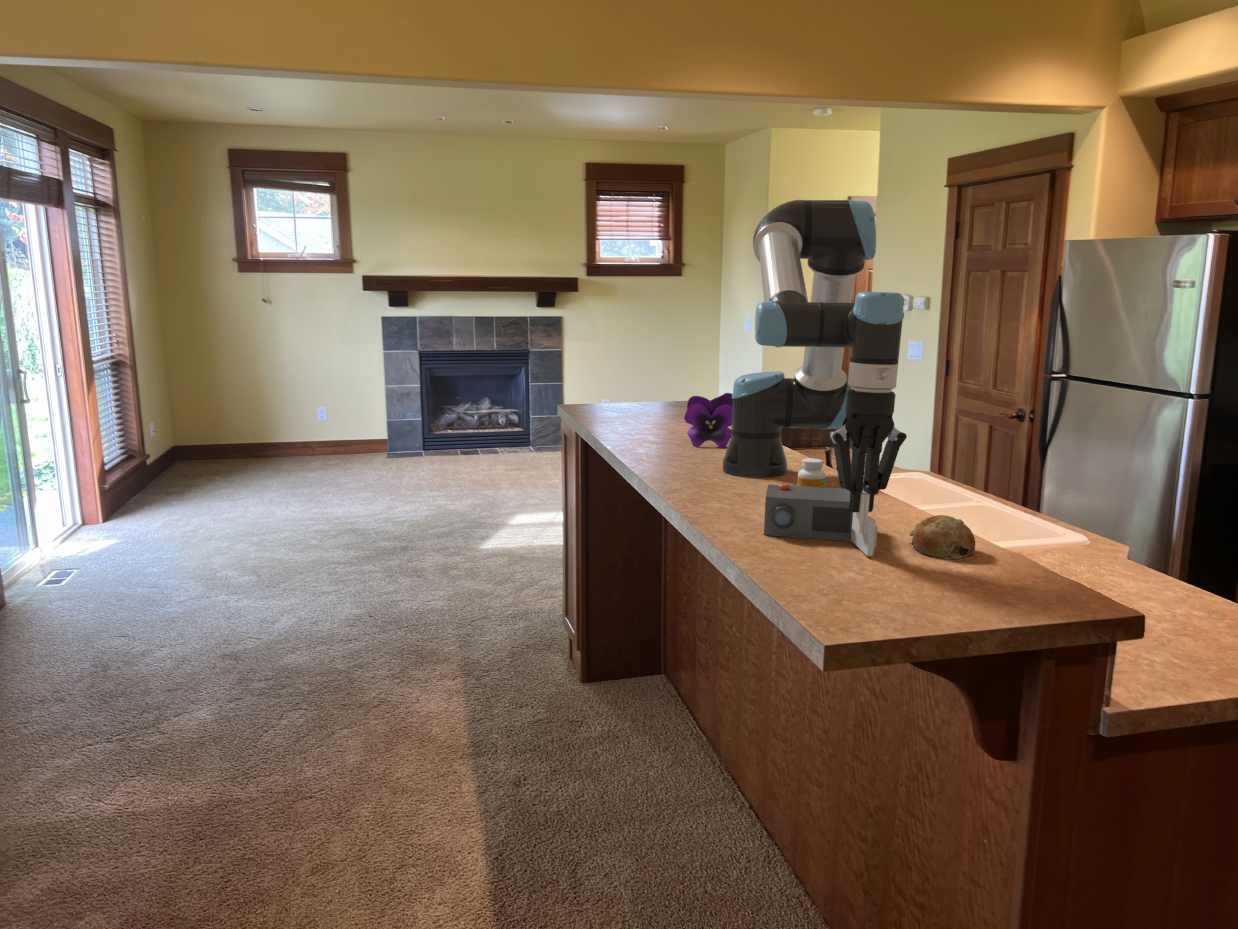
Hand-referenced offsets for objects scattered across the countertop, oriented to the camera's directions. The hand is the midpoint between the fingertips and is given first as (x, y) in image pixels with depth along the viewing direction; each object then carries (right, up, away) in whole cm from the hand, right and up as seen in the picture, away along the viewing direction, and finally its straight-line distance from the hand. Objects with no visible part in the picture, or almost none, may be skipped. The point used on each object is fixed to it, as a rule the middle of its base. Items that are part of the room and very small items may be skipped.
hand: (859, 530), depth 148 cm
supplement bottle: (-2, +2, +31) cm, 31 cm away
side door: (+1, -3, +3) cm, 5 cm away
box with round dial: (-5, -1, +14) cm, 15 cm away
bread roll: (+15, -4, +4) cm, 16 cm away
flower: (-15, +16, +99) cm, 101 cm away
